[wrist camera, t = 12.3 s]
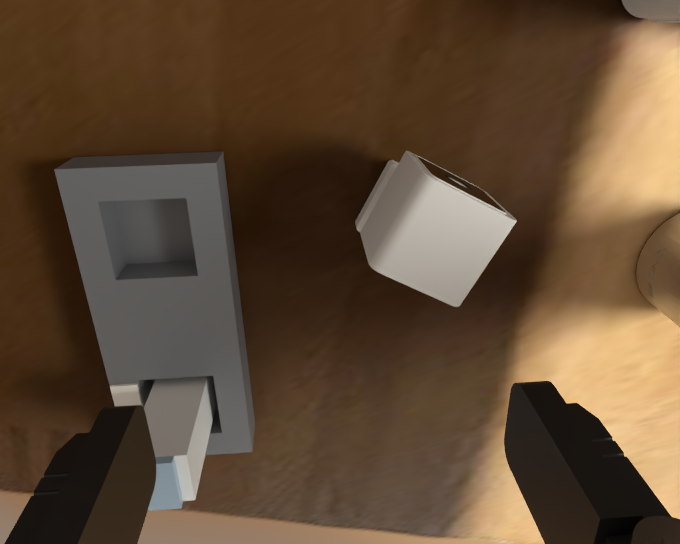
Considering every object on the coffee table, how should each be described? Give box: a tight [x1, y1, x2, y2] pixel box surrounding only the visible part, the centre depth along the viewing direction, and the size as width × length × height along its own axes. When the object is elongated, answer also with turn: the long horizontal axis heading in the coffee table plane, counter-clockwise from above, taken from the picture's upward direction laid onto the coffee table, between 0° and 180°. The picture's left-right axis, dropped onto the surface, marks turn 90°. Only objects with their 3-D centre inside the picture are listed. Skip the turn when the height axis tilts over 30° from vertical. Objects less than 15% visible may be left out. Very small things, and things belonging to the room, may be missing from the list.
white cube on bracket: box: [355, 151, 517, 307], centre depth 35 cm, size 6×7×10 cm
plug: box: [144, 376, 216, 511], centre depth 39 cm, size 4×4×11 cm
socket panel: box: [54, 151, 255, 455], centre depth 40 cm, size 10×24×4 cm, turn 1°
